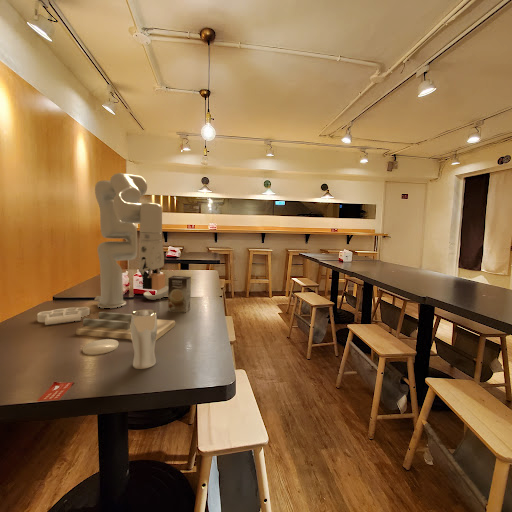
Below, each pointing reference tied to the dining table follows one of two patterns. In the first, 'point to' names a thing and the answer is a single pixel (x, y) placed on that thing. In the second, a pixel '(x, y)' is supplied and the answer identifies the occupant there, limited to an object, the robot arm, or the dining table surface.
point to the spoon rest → (157, 294)
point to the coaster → (100, 347)
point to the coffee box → (179, 293)
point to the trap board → (117, 326)
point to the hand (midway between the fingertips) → (151, 286)
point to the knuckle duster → (63, 315)
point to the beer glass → (143, 337)
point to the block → (157, 281)
